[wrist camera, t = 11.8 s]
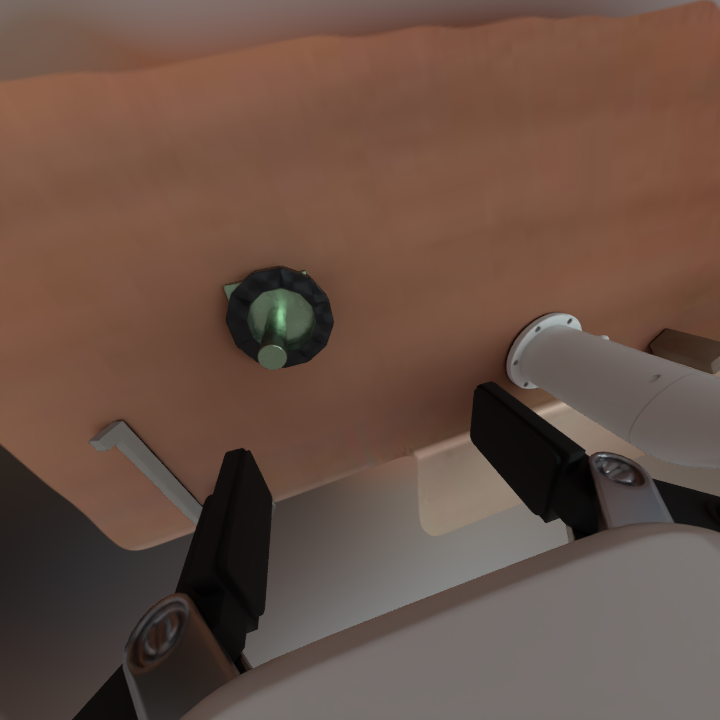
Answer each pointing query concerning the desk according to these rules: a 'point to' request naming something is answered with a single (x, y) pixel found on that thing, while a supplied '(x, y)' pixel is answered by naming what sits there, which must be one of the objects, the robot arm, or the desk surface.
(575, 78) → the desk surface
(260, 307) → the post
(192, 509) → the toilet paper hanger
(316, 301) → the black ring
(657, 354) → the wooden block
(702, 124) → the desk surface
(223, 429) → the desk surface
